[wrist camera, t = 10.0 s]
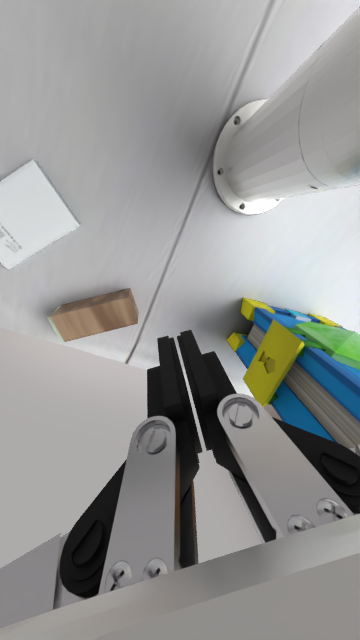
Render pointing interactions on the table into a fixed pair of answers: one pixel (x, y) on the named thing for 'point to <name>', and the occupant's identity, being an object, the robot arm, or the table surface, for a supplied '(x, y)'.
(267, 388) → the decorative book
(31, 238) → the external hard drive
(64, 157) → the table surface
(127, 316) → the walnut block
